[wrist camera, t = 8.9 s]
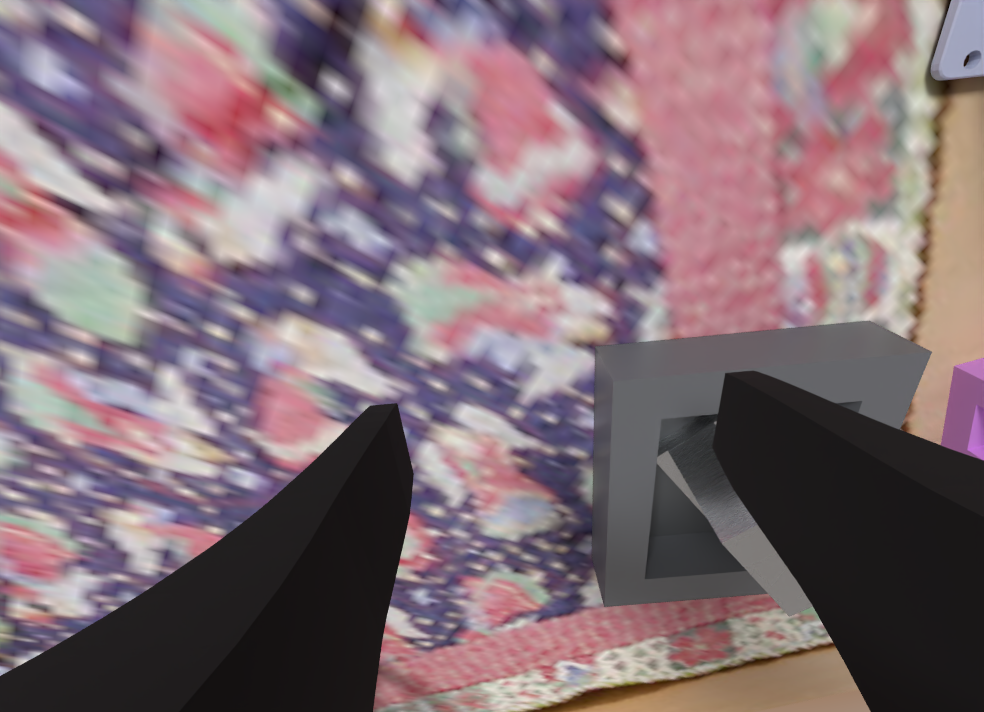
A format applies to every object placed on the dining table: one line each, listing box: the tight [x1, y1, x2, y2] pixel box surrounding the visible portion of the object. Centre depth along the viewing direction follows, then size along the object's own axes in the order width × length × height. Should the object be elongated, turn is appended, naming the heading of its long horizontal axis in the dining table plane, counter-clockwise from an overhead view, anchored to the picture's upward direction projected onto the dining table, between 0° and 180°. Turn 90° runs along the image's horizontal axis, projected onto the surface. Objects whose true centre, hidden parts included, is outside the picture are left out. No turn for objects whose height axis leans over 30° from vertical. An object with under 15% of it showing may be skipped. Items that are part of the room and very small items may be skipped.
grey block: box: [657, 414, 812, 617], centre depth 19 cm, size 4×6×6 cm, turn 41°
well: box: [592, 321, 932, 607], centre depth 21 cm, size 12×14×3 cm
